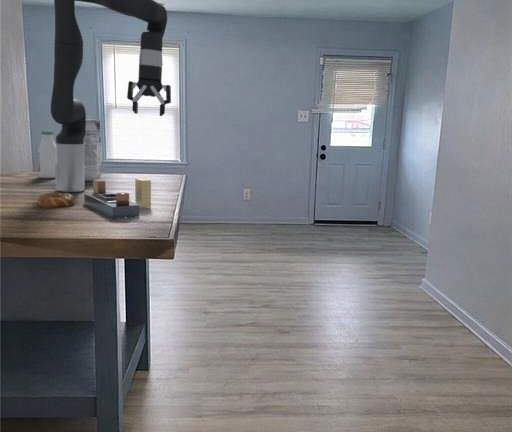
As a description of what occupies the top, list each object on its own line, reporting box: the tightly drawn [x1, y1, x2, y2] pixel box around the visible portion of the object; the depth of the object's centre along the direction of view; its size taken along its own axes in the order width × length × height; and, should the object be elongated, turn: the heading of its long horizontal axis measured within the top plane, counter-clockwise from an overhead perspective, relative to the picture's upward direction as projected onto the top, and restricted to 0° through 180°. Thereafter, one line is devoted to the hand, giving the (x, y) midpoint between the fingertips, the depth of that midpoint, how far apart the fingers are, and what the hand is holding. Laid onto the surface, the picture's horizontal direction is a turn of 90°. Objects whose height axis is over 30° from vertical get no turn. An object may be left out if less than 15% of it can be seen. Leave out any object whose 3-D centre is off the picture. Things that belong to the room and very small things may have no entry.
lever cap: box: [134, 177, 152, 210], centre depth 147 cm, size 4×4×9 cm
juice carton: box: [83, 115, 102, 182], centre depth 195 cm, size 9×10×27 cm
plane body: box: [83, 178, 141, 220], centre depth 140 cm, size 24×8×8 cm, turn 38°
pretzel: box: [37, 191, 76, 209], centre depth 145 cm, size 12×11×4 cm
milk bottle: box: [37, 130, 57, 179], centre depth 197 cm, size 8×8×20 cm
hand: (148, 114), depth 156 cm, fingers open, 8 cm apart
